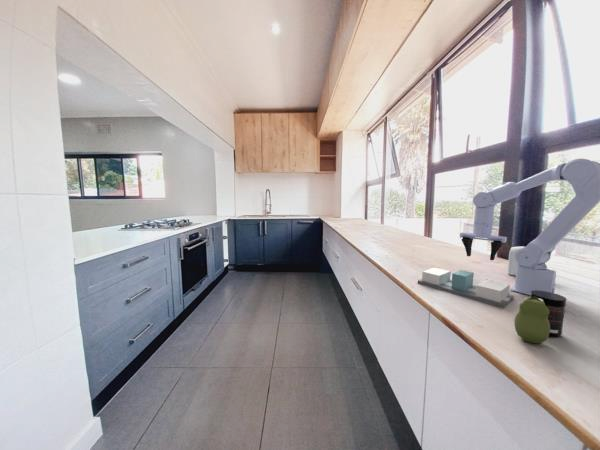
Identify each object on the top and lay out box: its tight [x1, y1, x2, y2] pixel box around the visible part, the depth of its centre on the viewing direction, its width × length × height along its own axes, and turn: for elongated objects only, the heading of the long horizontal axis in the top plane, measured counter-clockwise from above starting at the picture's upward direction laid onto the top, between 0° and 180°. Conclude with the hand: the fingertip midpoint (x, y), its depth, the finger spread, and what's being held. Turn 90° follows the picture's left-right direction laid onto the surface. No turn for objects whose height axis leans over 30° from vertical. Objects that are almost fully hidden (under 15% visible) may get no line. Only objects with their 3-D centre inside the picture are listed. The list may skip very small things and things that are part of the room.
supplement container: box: [529, 290, 568, 338], centre depth 56 cm, size 6×6×9 cm
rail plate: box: [417, 267, 514, 309], centre depth 82 cm, size 25×11×4 cm, turn 36°
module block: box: [451, 269, 475, 291], centre depth 82 cm, size 4×7×5 cm, turn 126°
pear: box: [514, 295, 550, 344], centre depth 52 cm, size 6×5×10 cm
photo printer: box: [507, 245, 525, 277], centre depth 95 cm, size 10×4×12 cm, turn 39°
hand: (480, 257), depth 93 cm, fingers open, 7 cm apart
